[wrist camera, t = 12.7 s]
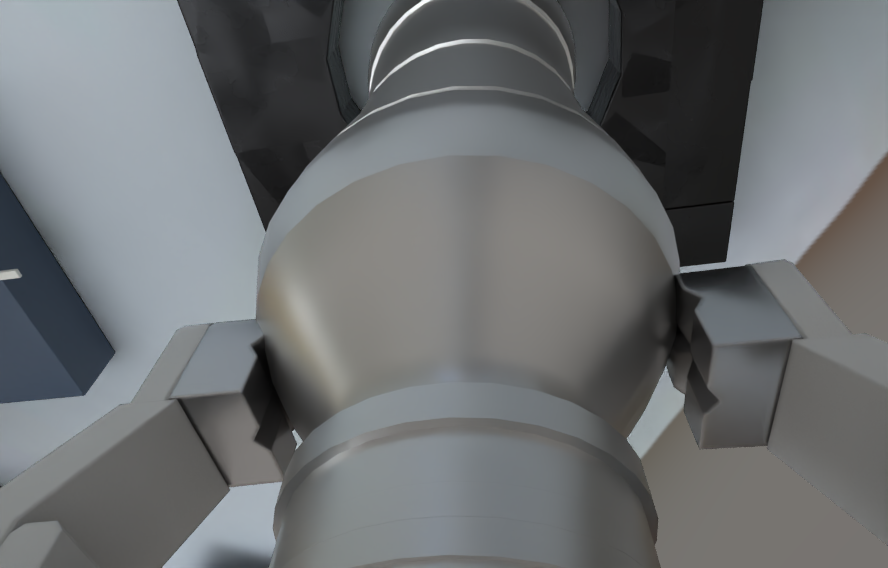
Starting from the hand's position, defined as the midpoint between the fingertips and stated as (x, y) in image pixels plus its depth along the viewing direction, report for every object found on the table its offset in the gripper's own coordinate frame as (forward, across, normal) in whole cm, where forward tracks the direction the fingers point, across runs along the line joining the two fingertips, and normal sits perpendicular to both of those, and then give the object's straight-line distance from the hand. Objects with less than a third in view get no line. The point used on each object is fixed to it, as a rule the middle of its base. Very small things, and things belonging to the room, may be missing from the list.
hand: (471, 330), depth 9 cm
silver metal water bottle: (+15, 0, 0) cm, 15 cm away
